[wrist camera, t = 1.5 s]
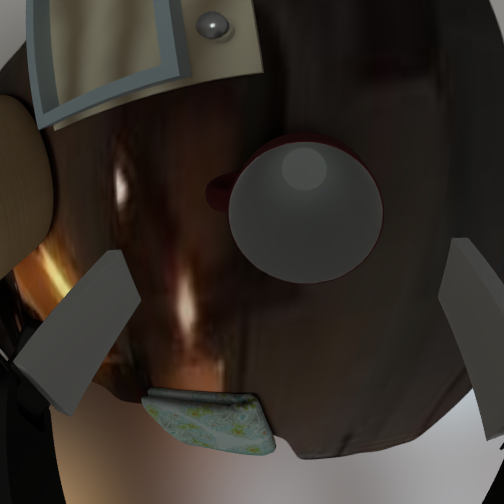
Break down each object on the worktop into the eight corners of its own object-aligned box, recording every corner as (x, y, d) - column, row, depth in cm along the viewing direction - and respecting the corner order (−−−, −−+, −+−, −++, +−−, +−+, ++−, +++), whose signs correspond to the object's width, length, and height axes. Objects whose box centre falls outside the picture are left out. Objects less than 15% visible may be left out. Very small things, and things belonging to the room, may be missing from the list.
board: (62, 128, 23) (54, 130, 22) (48, -7, 15) (40, -8, 14) (264, 72, 19) (262, 71, 18) (235, -88, 10) (232, -94, 9)
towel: (143, 382, 46) (133, 405, 42) (259, 389, 41) (254, 418, 36) (183, 428, 55) (177, 447, 50) (279, 435, 49) (276, 457, 45)
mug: (238, 223, 26) (208, 294, 18) (215, 135, 22) (163, 168, 14) (357, 207, 24) (384, 276, 15) (345, 113, 20) (378, 130, 11)
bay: (55, 124, 22) (38, 130, 20) (42, -5, 14) (26, -7, 12) (192, 76, 19) (179, 75, 17) (171, -74, 11) (160, -85, 9)
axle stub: (210, 45, 17) (197, 40, 15) (207, 23, 16) (193, 15, 14) (236, 40, 17) (227, 33, 14) (233, 18, 16) (223, 8, 14)
